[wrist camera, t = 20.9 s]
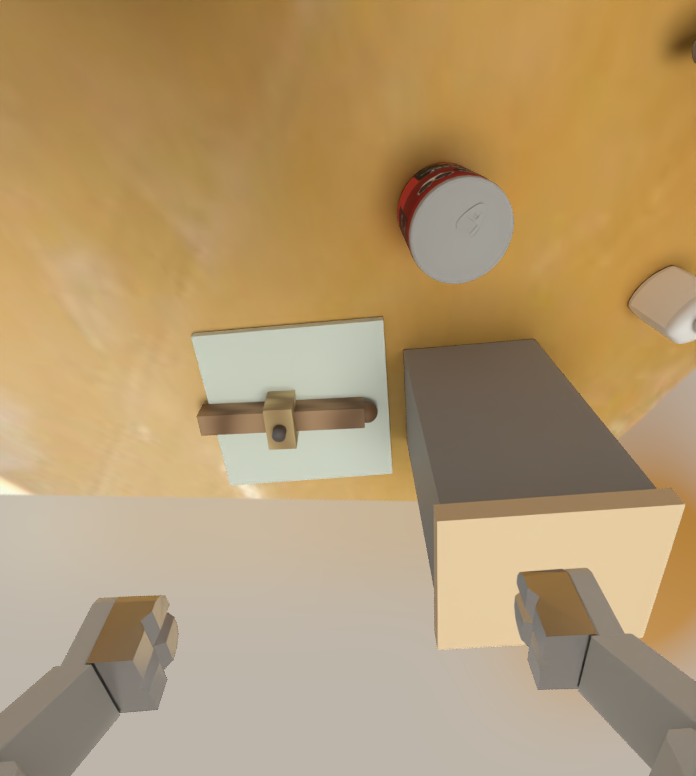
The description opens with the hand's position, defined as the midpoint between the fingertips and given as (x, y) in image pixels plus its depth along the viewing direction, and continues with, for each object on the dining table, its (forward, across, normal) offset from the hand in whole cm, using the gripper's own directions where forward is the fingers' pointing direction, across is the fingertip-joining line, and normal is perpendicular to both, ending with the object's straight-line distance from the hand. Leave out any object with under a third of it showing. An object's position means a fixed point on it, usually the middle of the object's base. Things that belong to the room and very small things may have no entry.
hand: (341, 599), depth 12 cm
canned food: (+41, +9, +1) cm, 42 cm away
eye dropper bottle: (+41, +31, -9) cm, 52 cm away
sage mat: (+41, -7, -19) cm, 46 cm away
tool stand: (+41, +12, -19) cm, 47 cm away
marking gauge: (+40, -9, -19) cm, 45 cm away
